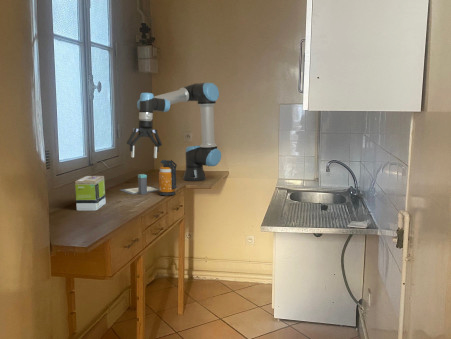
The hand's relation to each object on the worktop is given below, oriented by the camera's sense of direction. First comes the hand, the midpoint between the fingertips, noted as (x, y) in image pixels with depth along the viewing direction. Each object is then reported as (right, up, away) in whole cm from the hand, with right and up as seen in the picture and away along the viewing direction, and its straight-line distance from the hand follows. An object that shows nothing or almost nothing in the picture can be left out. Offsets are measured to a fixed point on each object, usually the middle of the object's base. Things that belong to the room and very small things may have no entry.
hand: (143, 157), depth 251 cm
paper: (-4, -19, +10) cm, 22 cm away
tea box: (-20, -26, -34) cm, 47 cm away
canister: (+14, -21, -3) cm, 26 cm away
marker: (-1, -21, 0) cm, 21 cm away
